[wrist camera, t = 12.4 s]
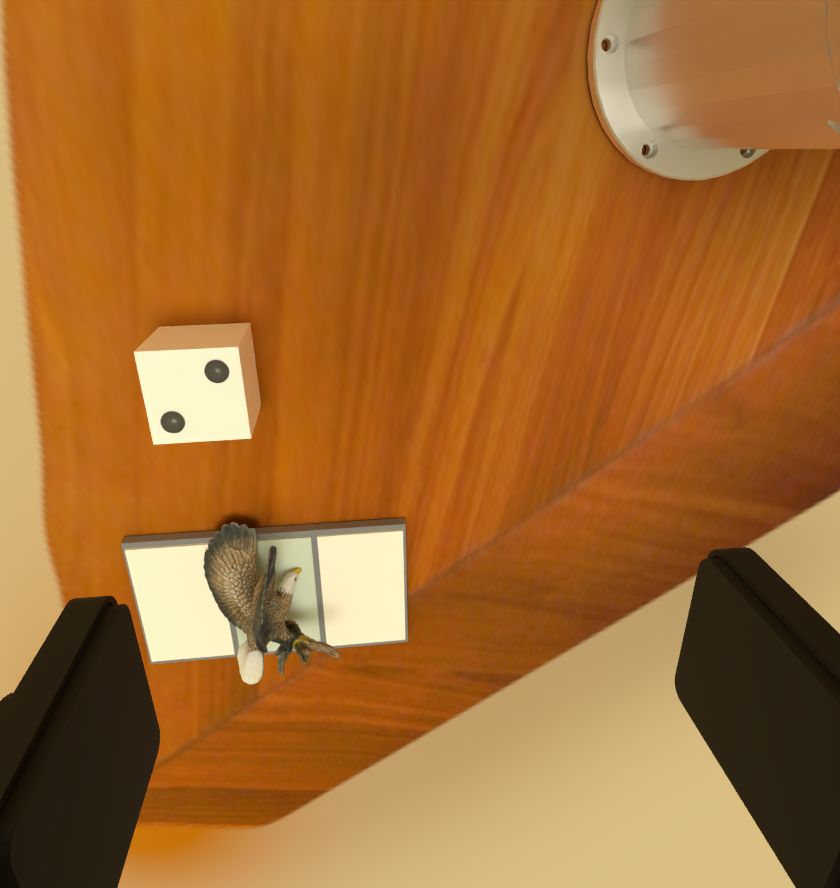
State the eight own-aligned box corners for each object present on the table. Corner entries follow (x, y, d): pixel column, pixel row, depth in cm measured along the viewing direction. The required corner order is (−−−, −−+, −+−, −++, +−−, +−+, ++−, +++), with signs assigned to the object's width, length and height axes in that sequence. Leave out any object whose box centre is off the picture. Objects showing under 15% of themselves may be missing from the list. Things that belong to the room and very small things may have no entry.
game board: (404, 517, 42) (405, 525, 42) (406, 634, 47) (408, 643, 46) (124, 536, 41) (119, 545, 40) (153, 656, 45) (149, 666, 44)
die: (250, 322, 36) (237, 347, 31) (261, 404, 38) (251, 439, 34) (159, 326, 36) (133, 352, 31) (175, 409, 38) (153, 445, 33)
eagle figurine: (365, 602, 42) (297, 515, 37) (319, 705, 38) (234, 623, 33) (280, 594, 46) (207, 515, 41) (229, 687, 42) (140, 611, 37)
